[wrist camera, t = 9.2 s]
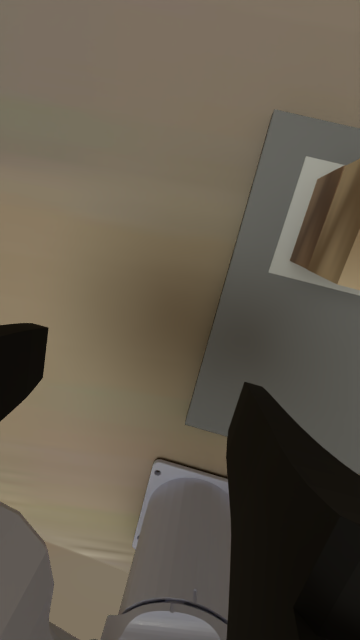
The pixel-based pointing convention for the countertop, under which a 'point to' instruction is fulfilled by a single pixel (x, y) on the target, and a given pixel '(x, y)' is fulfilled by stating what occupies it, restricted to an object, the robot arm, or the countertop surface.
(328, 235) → the beech block
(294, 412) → the build board
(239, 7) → the countertop surface
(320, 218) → the walnut block
